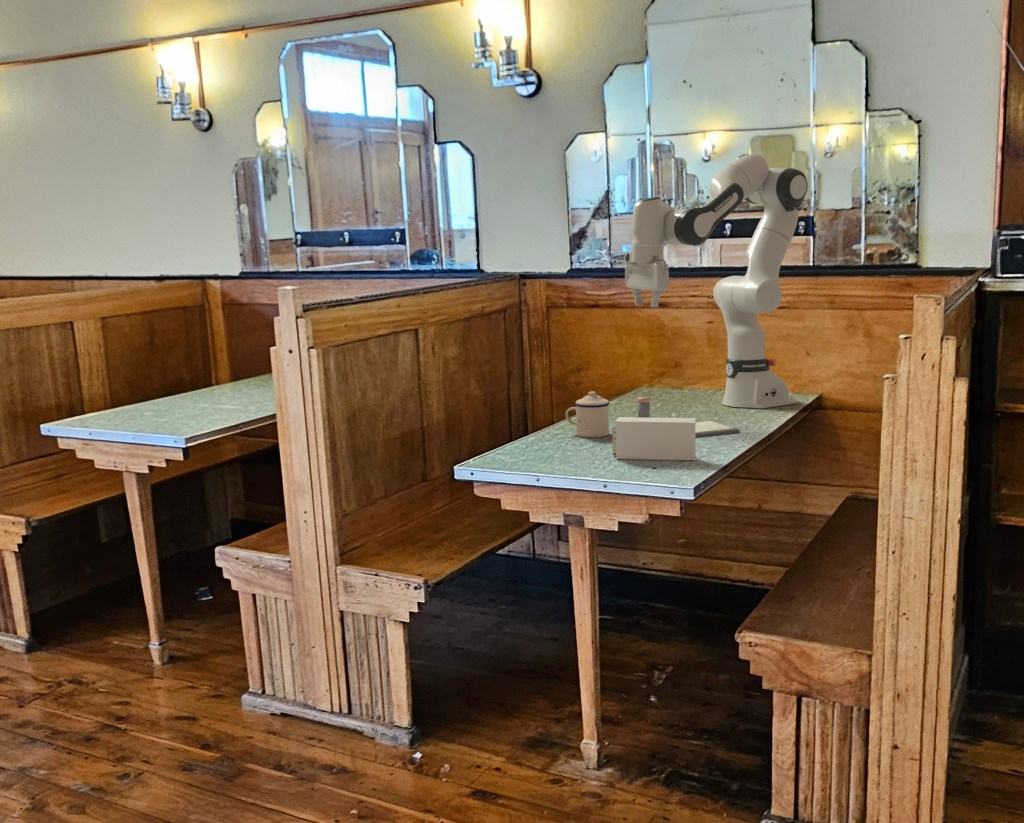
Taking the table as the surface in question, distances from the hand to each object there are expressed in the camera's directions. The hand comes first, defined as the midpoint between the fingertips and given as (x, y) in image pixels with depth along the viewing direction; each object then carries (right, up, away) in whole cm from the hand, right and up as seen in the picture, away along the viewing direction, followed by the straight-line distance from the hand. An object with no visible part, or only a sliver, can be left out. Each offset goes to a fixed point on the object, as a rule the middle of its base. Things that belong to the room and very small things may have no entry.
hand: (646, 306), depth 295 cm
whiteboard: (+9, -35, -14) cm, 39 cm away
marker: (-1, -33, 0) cm, 33 cm away
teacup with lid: (-17, -36, -12) cm, 42 cm away
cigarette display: (-4, -41, -43) cm, 60 cm away
